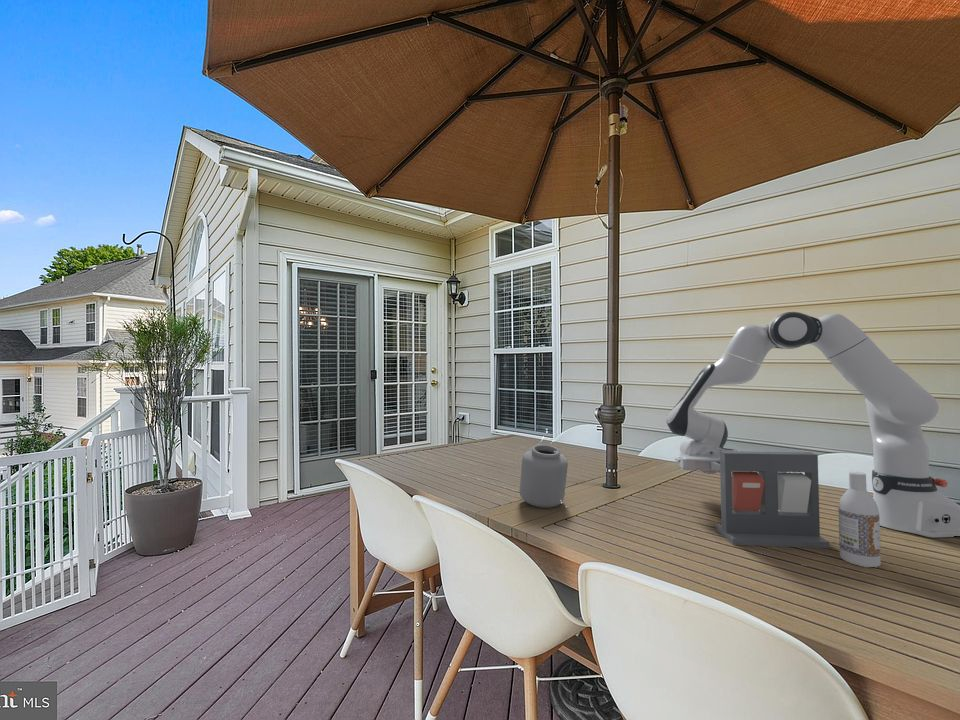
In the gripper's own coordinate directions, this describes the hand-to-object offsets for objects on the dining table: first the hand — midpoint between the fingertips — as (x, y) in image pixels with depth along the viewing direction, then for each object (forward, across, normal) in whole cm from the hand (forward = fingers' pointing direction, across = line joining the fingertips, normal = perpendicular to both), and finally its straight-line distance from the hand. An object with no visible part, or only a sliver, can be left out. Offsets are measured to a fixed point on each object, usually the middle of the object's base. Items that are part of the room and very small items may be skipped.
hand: (726, 469), depth 123 cm
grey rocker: (+10, +11, +7) cm, 17 cm away
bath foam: (+23, +18, +15) cm, 33 cm away
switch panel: (+11, +6, +15) cm, 20 cm away
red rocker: (+10, 0, +7) cm, 12 cm away
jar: (-11, -51, +16) cm, 55 cm away
